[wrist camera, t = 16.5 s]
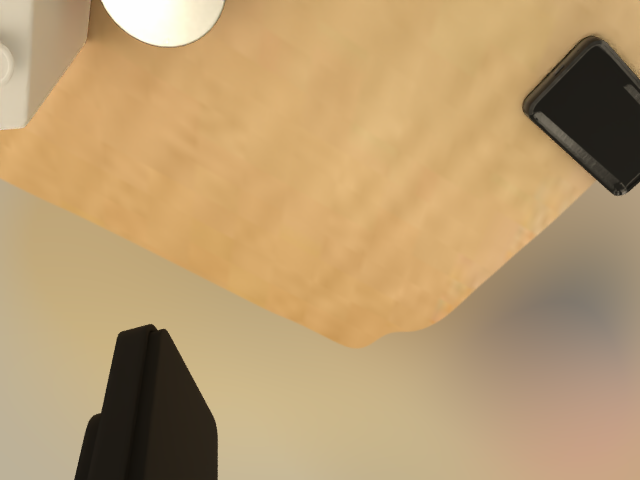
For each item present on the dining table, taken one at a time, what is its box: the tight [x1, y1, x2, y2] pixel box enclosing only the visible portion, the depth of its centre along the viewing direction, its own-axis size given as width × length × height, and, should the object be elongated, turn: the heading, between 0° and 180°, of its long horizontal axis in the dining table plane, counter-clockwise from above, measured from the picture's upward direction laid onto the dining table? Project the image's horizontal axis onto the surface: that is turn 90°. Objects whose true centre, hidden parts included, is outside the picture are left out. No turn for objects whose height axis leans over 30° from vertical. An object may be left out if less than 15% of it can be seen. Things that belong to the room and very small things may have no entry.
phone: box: [523, 36, 640, 196], centre depth 48 cm, size 8×1×15 cm
